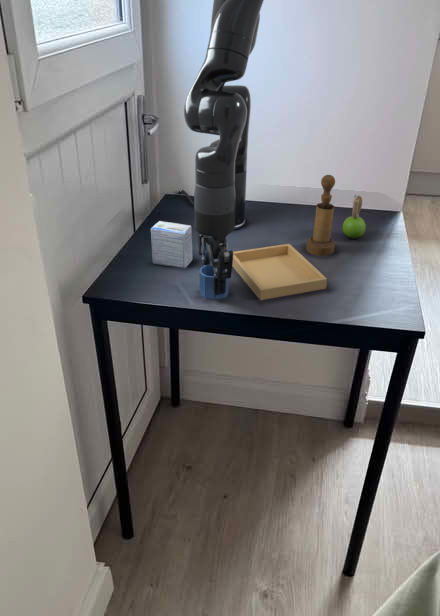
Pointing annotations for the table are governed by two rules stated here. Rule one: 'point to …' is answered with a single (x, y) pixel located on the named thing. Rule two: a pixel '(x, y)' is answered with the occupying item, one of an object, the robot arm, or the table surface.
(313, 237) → the mortar and pestle
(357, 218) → the green ball with peg
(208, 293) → the cup
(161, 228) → the medicine box
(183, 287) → the table surface
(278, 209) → the table surface
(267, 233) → the table surface
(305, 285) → the tray
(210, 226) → the robot arm
